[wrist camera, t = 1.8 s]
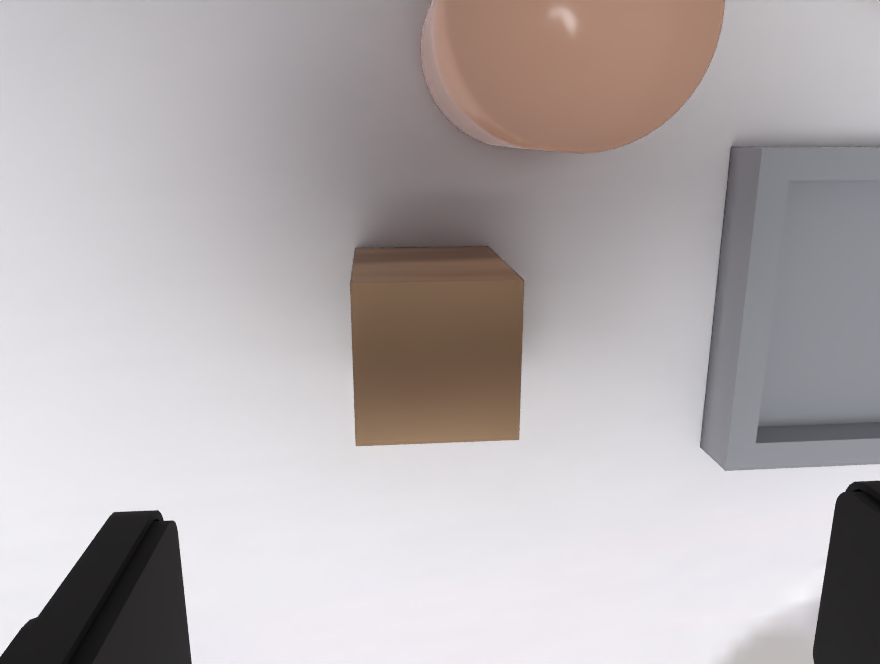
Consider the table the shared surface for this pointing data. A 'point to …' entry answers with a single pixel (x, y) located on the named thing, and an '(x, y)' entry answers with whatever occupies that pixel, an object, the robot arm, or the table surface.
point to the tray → (797, 311)
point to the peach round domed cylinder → (566, 67)
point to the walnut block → (435, 345)
